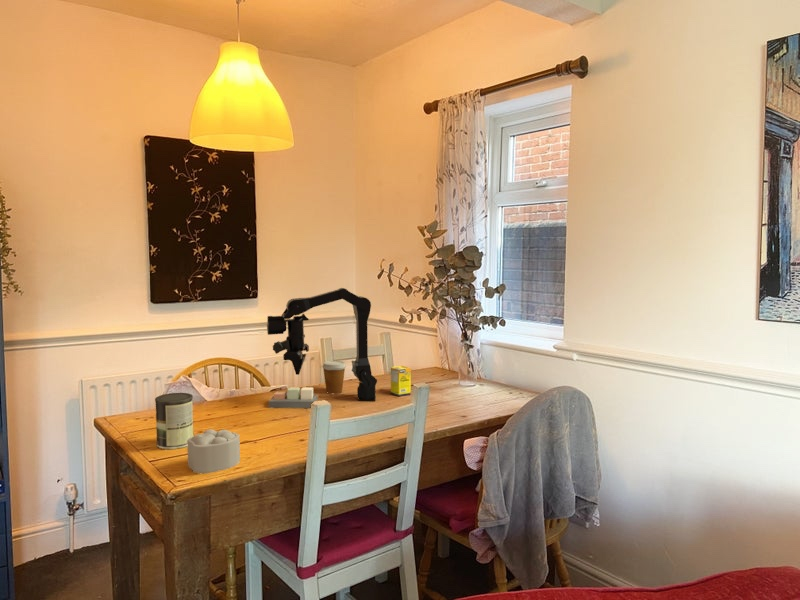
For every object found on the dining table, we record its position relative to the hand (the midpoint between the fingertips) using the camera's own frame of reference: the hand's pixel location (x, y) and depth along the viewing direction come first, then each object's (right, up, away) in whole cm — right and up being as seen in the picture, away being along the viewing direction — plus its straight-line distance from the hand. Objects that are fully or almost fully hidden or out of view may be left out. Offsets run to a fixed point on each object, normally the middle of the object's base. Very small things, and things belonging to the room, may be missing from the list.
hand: (297, 374), depth 211 cm
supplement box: (+38, -10, +17) cm, 43 cm away
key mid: (-2, -9, +1) cm, 9 cm away
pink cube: (-7, -11, +1) cm, 13 cm away
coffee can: (-28, -15, -43) cm, 54 cm away
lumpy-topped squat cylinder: (-11, -17, -59) cm, 62 cm away
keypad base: (-2, -11, +1) cm, 11 cm away
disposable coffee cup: (+11, -10, +20) cm, 25 cm away
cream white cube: (+3, -9, +1) cm, 10 cm away
